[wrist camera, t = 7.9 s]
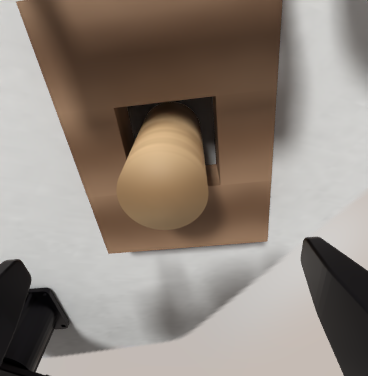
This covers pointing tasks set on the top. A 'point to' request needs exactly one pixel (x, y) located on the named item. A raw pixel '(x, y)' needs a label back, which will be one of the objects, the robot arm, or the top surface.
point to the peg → (165, 170)
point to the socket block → (164, 92)
